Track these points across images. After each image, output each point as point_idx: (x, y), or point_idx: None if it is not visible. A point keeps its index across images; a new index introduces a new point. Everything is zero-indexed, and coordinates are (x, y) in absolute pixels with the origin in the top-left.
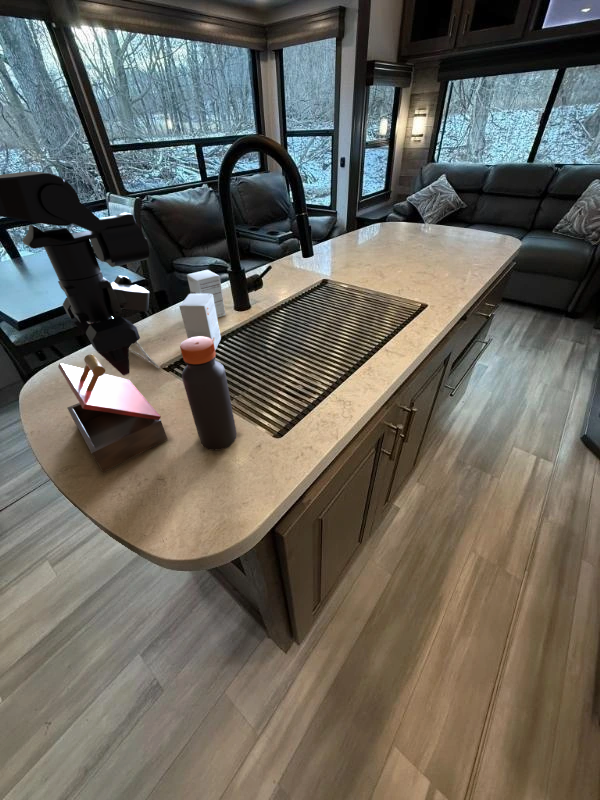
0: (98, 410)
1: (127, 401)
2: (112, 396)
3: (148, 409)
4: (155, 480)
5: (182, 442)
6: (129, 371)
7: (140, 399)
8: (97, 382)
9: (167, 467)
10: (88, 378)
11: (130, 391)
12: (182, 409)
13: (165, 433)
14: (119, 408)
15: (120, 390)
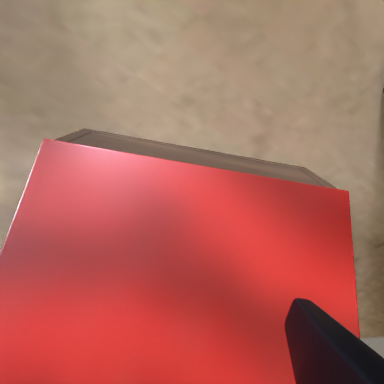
0: None
1: (272, 269)
2: (248, 320)
3: (311, 212)
4: (374, 251)
5: (347, 151)
6: (318, 306)
7: (234, 197)
8: (123, 330)
9: (372, 219)
10: (90, 362)
11: (171, 202)
12: (238, 58)
13: (315, 174)
14: None
15: (175, 247)
